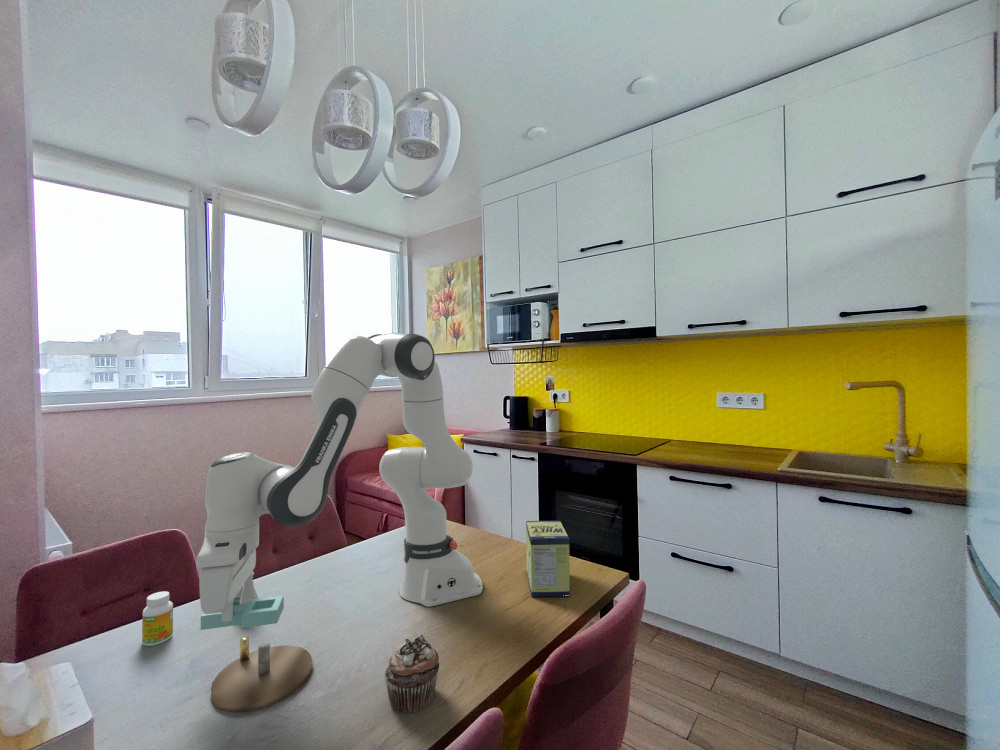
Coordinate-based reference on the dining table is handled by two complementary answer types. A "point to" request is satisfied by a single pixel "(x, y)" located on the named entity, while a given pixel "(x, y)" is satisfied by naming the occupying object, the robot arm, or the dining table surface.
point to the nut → (248, 614)
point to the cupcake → (412, 675)
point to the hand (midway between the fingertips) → (231, 613)
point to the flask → (249, 590)
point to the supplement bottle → (157, 619)
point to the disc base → (261, 678)
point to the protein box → (547, 558)
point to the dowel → (244, 648)
